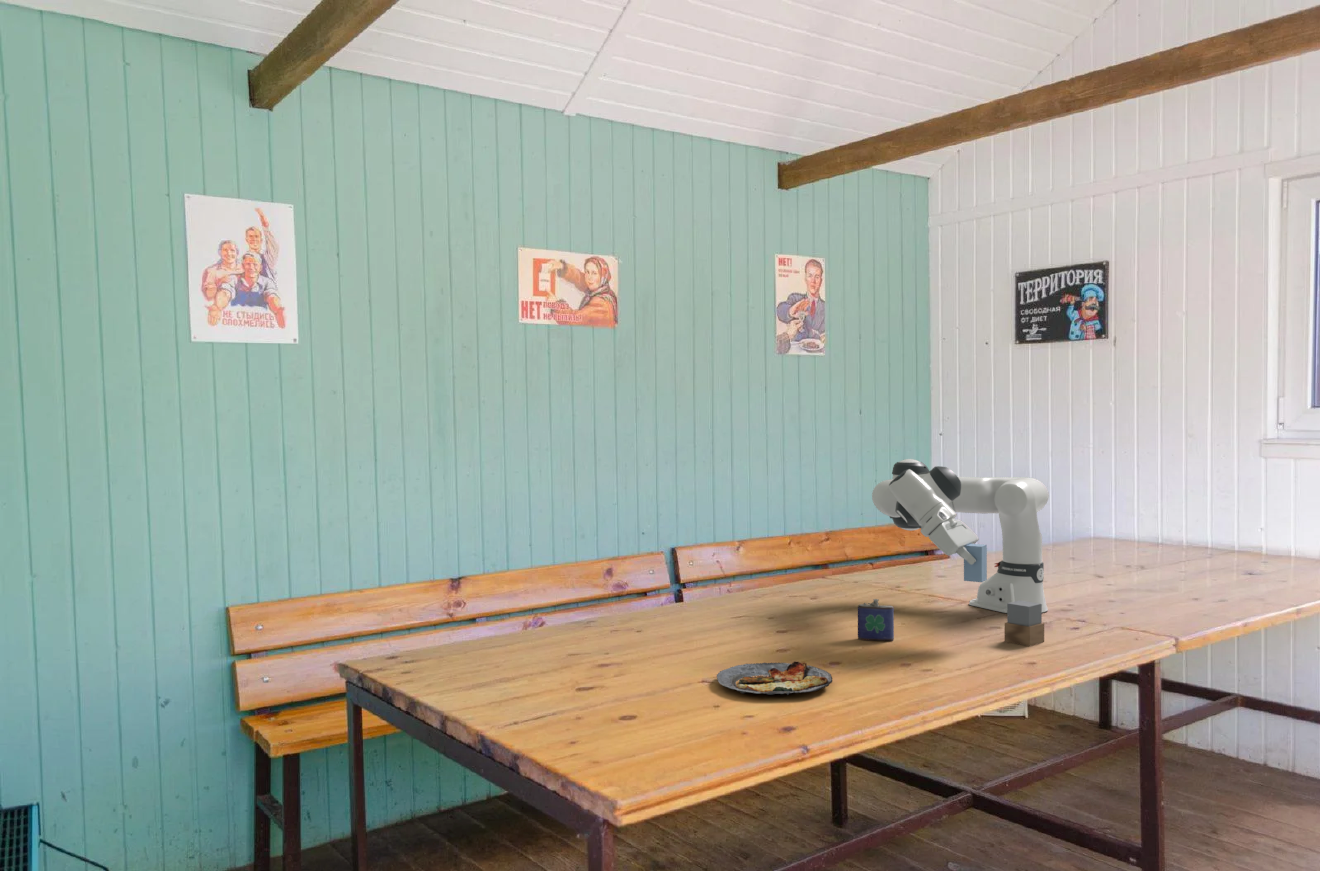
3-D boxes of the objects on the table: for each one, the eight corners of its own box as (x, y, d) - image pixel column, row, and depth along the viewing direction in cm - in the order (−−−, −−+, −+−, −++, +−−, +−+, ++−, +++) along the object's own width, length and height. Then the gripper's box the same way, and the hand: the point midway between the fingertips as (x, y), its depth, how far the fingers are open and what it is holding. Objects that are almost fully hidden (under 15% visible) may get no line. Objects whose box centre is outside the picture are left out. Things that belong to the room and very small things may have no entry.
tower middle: (1007, 622, 249) (1007, 603, 249) (1020, 619, 253) (1020, 600, 253) (1028, 626, 244) (1028, 606, 244) (1041, 623, 248) (1041, 603, 248)
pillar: (963, 580, 246) (963, 545, 246) (969, 578, 250) (968, 543, 250) (981, 582, 244) (981, 546, 244) (986, 579, 248) (986, 544, 247)
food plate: (821, 669, 223) (820, 654, 223) (843, 700, 200) (843, 683, 200) (712, 674, 222) (712, 658, 222) (722, 705, 199) (722, 688, 199)
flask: (894, 639, 252) (893, 598, 252) (893, 642, 249) (893, 600, 249) (857, 637, 255) (857, 597, 254) (857, 640, 252) (856, 599, 252)
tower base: (1004, 642, 249) (1004, 622, 249) (1019, 637, 254) (1019, 618, 254) (1029, 646, 244) (1029, 627, 244) (1044, 642, 248) (1044, 623, 248)
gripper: (943, 524, 262) (980, 563, 257) (918, 532, 245) (957, 574, 239) (960, 509, 259) (997, 548, 254) (935, 516, 242) (975, 558, 237)
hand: (977, 561), depth 247 cm, fingers closed on pillar, 4 cm apart
